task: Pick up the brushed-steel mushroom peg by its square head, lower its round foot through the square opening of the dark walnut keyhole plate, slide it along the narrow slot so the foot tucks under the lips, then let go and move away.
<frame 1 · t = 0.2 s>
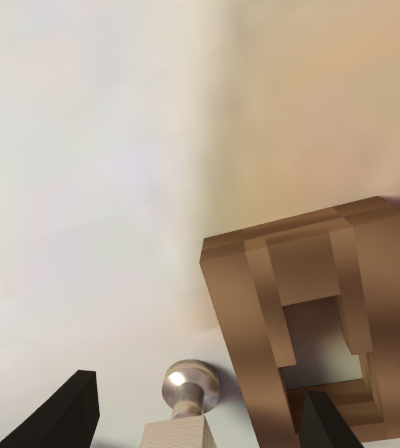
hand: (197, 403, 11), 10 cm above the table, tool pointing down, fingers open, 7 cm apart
steel peg: (192, 382, 24), on the table
keyhole plate: (309, 318, 21), on the table
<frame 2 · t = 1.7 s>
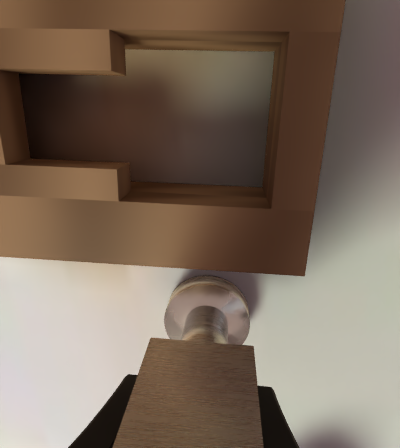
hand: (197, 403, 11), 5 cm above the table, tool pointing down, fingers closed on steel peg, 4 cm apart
steel peg: (207, 311, 16), on the table, touching gripper
keyhole plate: (131, 119, 14), on the table
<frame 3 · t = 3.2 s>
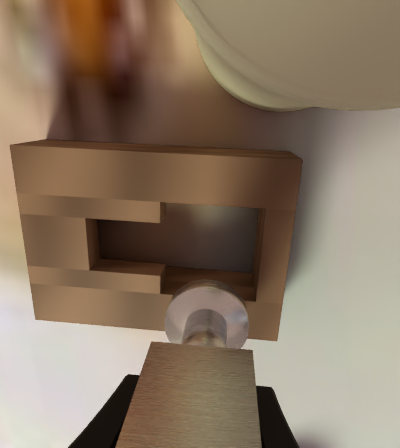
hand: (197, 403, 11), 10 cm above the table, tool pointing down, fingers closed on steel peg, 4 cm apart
can: (287, 13, 16), on the table
steel peg: (207, 314, 16), point 5 cm above the table, touching gripper
keyhole plate: (164, 228, 20), on the table
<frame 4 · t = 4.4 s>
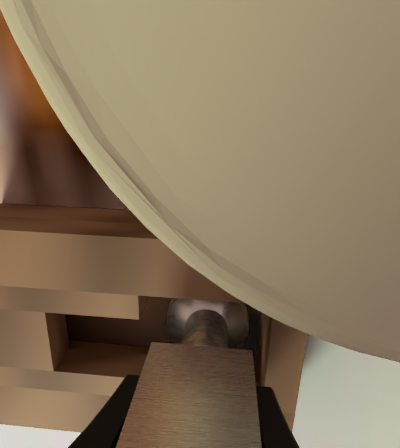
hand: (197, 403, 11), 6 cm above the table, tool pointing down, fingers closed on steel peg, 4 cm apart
can: (297, 52, 13), on the table
steel peg: (207, 315, 17), resting in keyhole plate, touching gripper
keyhole plate: (149, 305, 17), on the table
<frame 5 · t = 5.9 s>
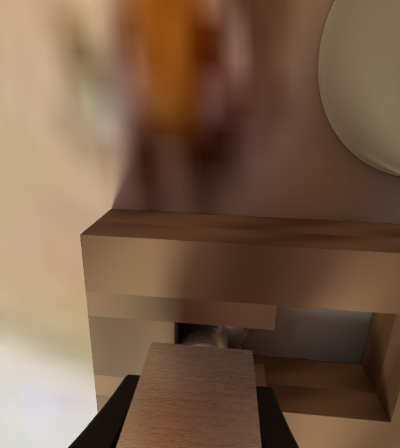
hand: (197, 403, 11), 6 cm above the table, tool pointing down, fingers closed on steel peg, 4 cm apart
steel peg: (207, 315, 17), resting in keyhole plate, touching gripper
keyhole plate: (254, 312, 16), on the table
when the fingers open (5 cm above the table, at t = 7.0 s): steel peg stays where it is, resting on keyhole plate.
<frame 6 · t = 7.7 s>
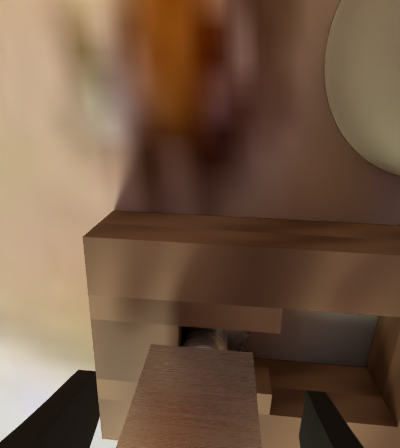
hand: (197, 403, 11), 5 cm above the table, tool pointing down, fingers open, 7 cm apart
steel peg: (207, 316, 16), resting on keyhole plate
keyhole plate: (258, 315, 16), on the table
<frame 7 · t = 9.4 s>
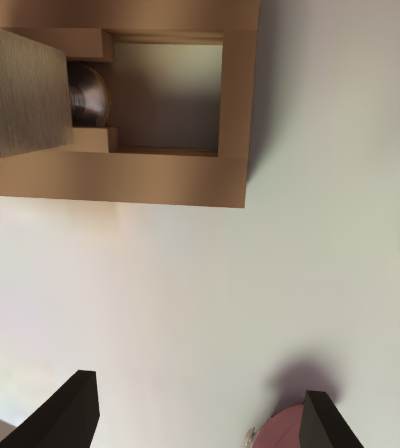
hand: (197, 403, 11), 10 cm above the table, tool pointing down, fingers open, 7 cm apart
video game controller: (268, 437, 25), on the table
steel peg: (75, 101, 18), resting in keyhole plate
keyhole plate: (119, 96, 18), on the table
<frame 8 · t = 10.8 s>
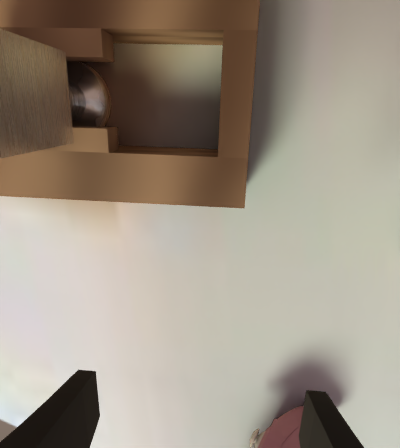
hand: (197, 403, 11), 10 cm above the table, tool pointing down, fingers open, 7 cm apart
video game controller: (272, 438, 25), on the table
steel peg: (75, 101, 18), resting in keyhole plate
keyhole plate: (119, 96, 18), on the table
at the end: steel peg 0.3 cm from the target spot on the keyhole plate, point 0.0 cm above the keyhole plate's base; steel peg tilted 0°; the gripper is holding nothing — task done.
